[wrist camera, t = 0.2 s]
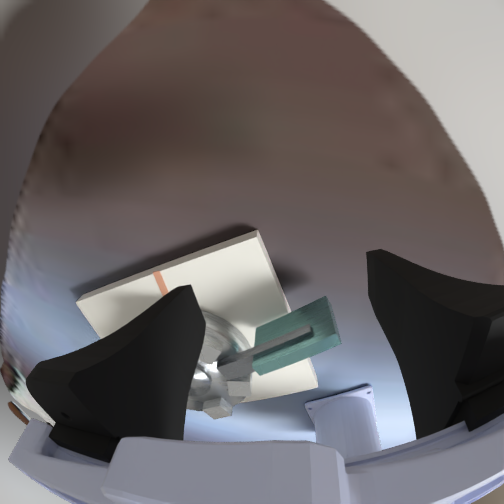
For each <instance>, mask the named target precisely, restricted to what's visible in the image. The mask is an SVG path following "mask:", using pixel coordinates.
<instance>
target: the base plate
mask: <svg viewBox="0 0 504 504" xmlns="http://www.w3.org/2000/svg"><path fill="white" fill-rule="evenodd" d="M190 284H191V286H192V288H193V291H194V293H195V296H196V299H197V301H198V304H199V306H200V309H201V310H204V311H207V312H210V313H212V314H215V315H217V316H219V317H221V318H223V319H225V320H226V321H228V322H229V323H231V324H232V325H233V326H235V327H236V328H237V329H238V330H239V331H240V332H241V333H242V334H243V335H244V336H245V338H246V339H247V341H248V342H249V344H250V346H251V348H252V347H254V342H255V332H256V328H257V327H259V326H261V325H263V324H266V323H268V322H270V321H273V320H275V319H277V318H279V317H282V316H284V315H286V314H288V313H290V312H291V310H290V307H289V305H288V302H287V300H286V297H285V295H284V292H283V290H282V287H281V285H280V282H279V280H278V278H277V275H276V273H275V270H274V268H273V265H272V263H271V260H270V258H269V255H268V253H267V251H266V248H265V246H264V243H263V241H262V239H261V236H260V234H259V231H258V230H255V231H252V232H249V233H247V234H244V235H241V236H238V237H235V238H233V239H230V240H227V241H224V242H221V243H219V244H216V245H213V246H210V247H208V248H205V249H202V250H199V251H197V252H194V253H191V254H188V255H186V256H183V257H180V258H178V259H175V260H172V261H169V262H167V263H164V264H161V265H159V266H156V267H153V268H151V269H148V270H145V271H143V272H140V273H138V274H135V275H132V276H130V277H127V278H124V279H122V280H119V281H117V282H114V283H111V284H109V285H106V286H104V287H101V288H98V289H96V290H93V291H91V292H88V293H86V294H83V295H82V296H81V297H80V298H79V299H78V300H77V301H76V304H77V305H78V307H79V308H80V310H81V311H82V313H83V314H84V316H85V317H86V319H87V320H88V322H89V323H90V324H91V326H92V327H93V329H94V330H95V331H96V333H97V334H98V335H99V337H100V338H101V339H102V338H104V337H106V336H108V335H110V334H111V333H113V332H115V331H116V330H118V329H120V328H121V327H123V326H124V325H126V324H127V323H129V322H130V321H131V320H133V319H134V318H135V317H137V316H138V315H140V314H141V313H142V312H144V311H145V310H146V309H148V308H149V307H150V306H151V305H153V304H154V303H155V302H157V301H158V300H159V299H160V298H162V297H163V296H164V295H166V294H167V293H168V292H170V291H171V290H173V289H174V288H176V287H178V286H184V285H190ZM314 388H318V380H317V375H316V373H315V370H314V368H313V365H312V363H311V360H310V357H309V358H307V359H304V360H302V361H299V362H296V363H294V364H291V365H289V366H286V367H283V368H281V369H278V370H275V371H272V372H269V373H267V374H264V375H261V376H259V375H258V373H257V372H253V373H252V393H251V397H245V399H244V400H242V401H241V402H240V403H245V402H251V401H257V400H263V399H268V398H273V397H278V396H283V395H288V394H293V393H297V392H302V391H306V390H310V389H314Z"/></svg>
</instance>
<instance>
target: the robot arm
mask: <svg viewBox="0 0 504 504" xmlns="http://www.w3.org/2000/svg"><path fill="white" fill-rule="evenodd" d="M366 255H367V272H368V296H369V299H370V301H371V304H372V307H373V310H374V313H375V315H376V317H377V319H378V321H379V323H380V325H381V327H382V329H383V331H384V333H385V335H386V337H387V339H388V341H389V343H390V345H391V347H392V350H393V352H394V354H395V356H396V358H397V361H398V363H399V366H400V370H401V373H402V376H403V379H404V383H405V386H406V390H407V394H408V398H409V402H410V406H411V411H412V416H413V420H414V426H415V432H416V439H417V440H414V441H411V442H408V443H405V444H402V445H399V446H396V447H392V448H389V449H385V450H382V446H381V442H380V437H379V433H378V429H377V425H376V422H377V420H376V411H375V403H374V396H373V389H372V386H370V385H369V386H365V387H362V388H359V389H355V390H352V391H349V392H345V393H342V394H338V395H335V396H331V397H327V398H323V399H319V400H315V401H311V402H307V403H305V408H306V410H307V412H308V414H309V416H310V418H311V420H312V422H313V424H314V426H315V432H316V443H315V442H310V441H281V440H272V441H256V442H198V441H183V435H184V424H185V415H186V408H187V402H188V395H189V391H190V386H191V383H192V379H193V376H194V373H195V370H196V366H197V363H198V360H199V356H200V353H201V350H202V346H203V343H204V336H205V329H206V321H205V319H204V316H203V314H202V311H201V309H200V306H199V304H198V301H197V299H196V296H195V293H194V291H193V288H192V286H191V284H190V285H184V286H178V287H176V288H174V289H173V290H171V291H170V292H168V293H167V294H166V295H164V296H163V297H162V298H160V299H159V300H158V301H157V302H155V303H154V304H153V305H151V306H150V307H149V308H148V309H146V310H145V311H144V312H142V313H141V314H140V315H138V316H137V317H135V318H134V319H133V320H131V321H130V322H129V323H127V324H126V325H124V326H123V327H121V328H120V329H118V330H116V331H115V332H113V333H111V334H110V335H108V336H106V337H104V338H102V339H100V340H98V341H96V342H94V343H92V344H90V345H88V346H86V347H84V348H81V349H79V350H77V351H74V352H71V353H69V354H66V355H63V356H59V357H56V358H52V359H49V360H45V361H41V362H39V363H38V364H37V365H36V366H35V368H34V369H33V370H32V371H31V373H30V374H29V375H28V377H27V378H26V386H27V388H28V390H29V392H30V394H31V395H32V397H33V398H34V399H35V400H36V402H37V403H38V404H39V405H40V406H41V407H42V408H43V409H44V411H45V412H46V413H47V414H48V415H49V416H50V417H51V418H52V419H53V420H54V421H55V422H56V423H55V425H54V427H53V428H52V427H51V426H50V425H48V424H46V423H44V422H41V421H38V420H36V419H33V418H31V420H30V422H29V423H28V425H27V427H26V429H25V430H24V432H23V433H22V435H21V437H20V439H19V440H18V442H17V444H16V446H15V447H14V449H13V451H12V453H11V455H10V457H9V459H8V460H9V462H11V463H12V464H13V465H14V466H15V467H17V468H18V469H19V470H21V471H22V472H23V473H25V474H26V475H27V476H29V477H30V478H31V479H33V480H34V481H35V482H37V483H38V484H40V485H41V486H43V487H44V488H46V489H47V490H49V491H50V492H52V493H54V494H55V495H57V496H59V497H61V498H63V499H64V500H66V501H68V502H70V503H72V504H470V503H472V502H474V501H476V500H478V499H479V498H481V497H483V496H484V495H486V494H488V493H489V492H491V491H493V490H494V489H496V488H497V487H499V486H500V485H502V484H503V483H504V286H503V285H491V284H483V283H476V282H471V281H466V280H461V279H457V278H454V277H450V276H447V275H443V274H440V273H437V272H434V271H432V270H429V269H427V268H424V267H422V266H419V265H417V264H414V263H412V262H410V261H408V260H406V259H403V258H401V257H399V256H397V255H395V254H392V253H390V252H388V251H385V250H382V249H378V250H373V251H368V252H366Z"/></svg>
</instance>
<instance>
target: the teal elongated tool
mask: <svg viewBox="0 0 504 504" xmlns="http://www.w3.org/2000/svg"><path fill="white" fill-rule="evenodd" d="M201 311H202V314H203V316H204V319H205V321H206V329H205V336H204V343H203V346H202V350H201V353H200V356H199V360H198V363H197V366H196V370H195V373H194V376H193V379H192V383H191V386H190V391H189V395H188V402H187V408H186V409H190V410H196V411H204V412H205V413H207V414H208V415H209V416H210V417H212V418H213V419H218V418H223V417H228V416H232V409H233V407H232V406H235V405H237V404H238V403H240V402H241V401H242V400H244V399H245V397H251V393H252V373H253V372H257V373H258V375H259V376H261V375H264V374H267V373H269V372H272V371H275V370H278V369H281V368H283V367H286V366H289V365H291V364H294V363H296V362H299V361H302V360H304V359H307V358H309V357H311V356H314V355H316V354H319V353H321V352H323V351H326V350H328V349H330V348H333V347H335V346H337V345H340V344H342V343H341V339H340V336H339V332H338V328H337V324H336V321H335V317H334V314H333V310H332V306H331V304H330V302H329V300H328V299H327V297H326V296H324V297H322V298H320V299H318V300H316V301H314V302H312V303H310V304H308V305H305V306H303V307H301V308H299V309H297V310H295V311H293V312H290V313H288V314H286V315H284V316H282V317H279V318H277V319H275V320H273V321H270V322H268V323H266V324H263V325H261V326H259V327H257V328H256V332H255V342H254V347H252V348H251V346H250V344H249V342H248V341H247V339H246V338H245V336H244V335H243V334H242V333H241V332H240V331H239V330H238V329H237V328H236V327H235V326H233V325H232V324H231V323H229V322H228V321H226V320H225V319H223V318H221V317H219V316H217V315H215V314H212V313H210V312H207V311H204V310H201Z"/></svg>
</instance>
